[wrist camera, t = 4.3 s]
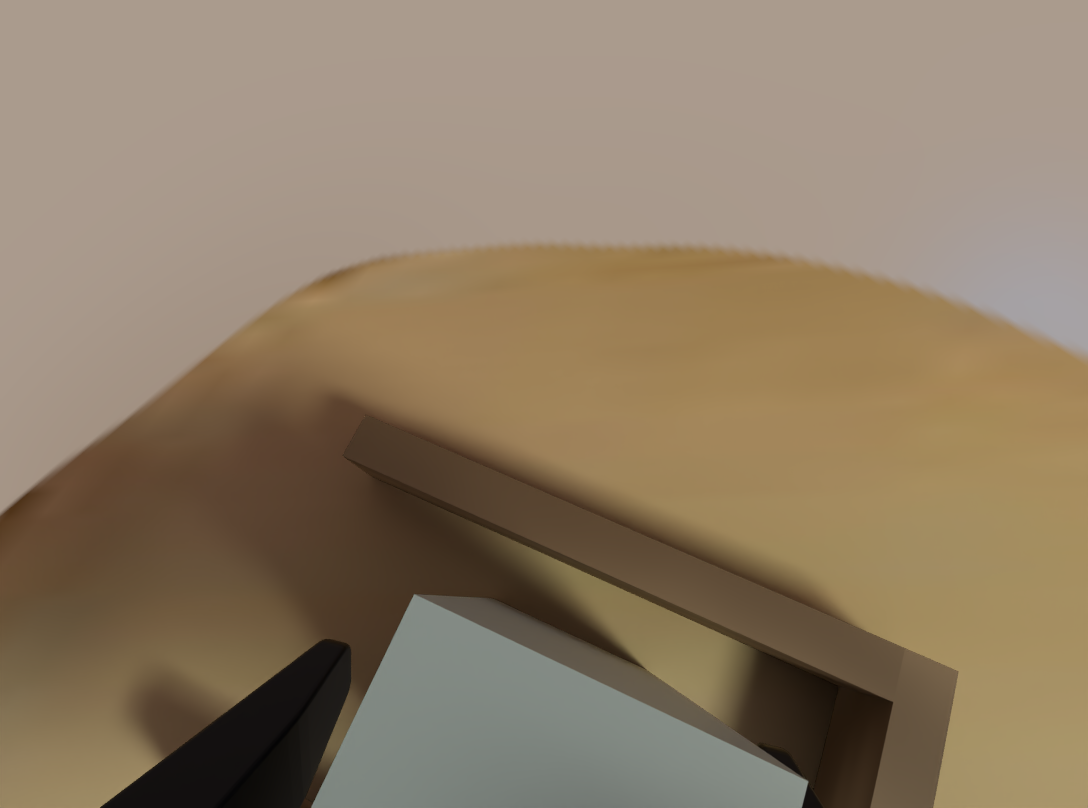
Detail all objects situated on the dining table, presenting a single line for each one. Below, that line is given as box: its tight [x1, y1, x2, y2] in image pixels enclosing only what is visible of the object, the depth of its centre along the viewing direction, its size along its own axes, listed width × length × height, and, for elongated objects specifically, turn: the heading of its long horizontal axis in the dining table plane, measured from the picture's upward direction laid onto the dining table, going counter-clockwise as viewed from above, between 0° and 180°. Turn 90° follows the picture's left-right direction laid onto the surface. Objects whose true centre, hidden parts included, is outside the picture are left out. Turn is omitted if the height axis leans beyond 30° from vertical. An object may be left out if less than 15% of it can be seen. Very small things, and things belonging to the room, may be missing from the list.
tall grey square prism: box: [311, 594, 808, 808], centre depth 10 cm, size 4×4×10 cm
